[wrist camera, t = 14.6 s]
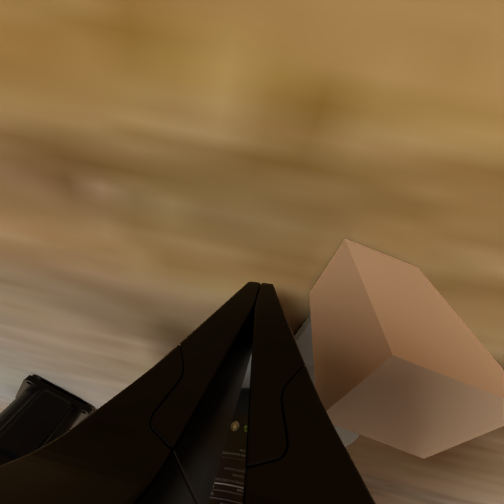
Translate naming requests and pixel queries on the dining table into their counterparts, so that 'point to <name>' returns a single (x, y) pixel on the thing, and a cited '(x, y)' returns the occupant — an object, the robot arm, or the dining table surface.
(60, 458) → the robot arm
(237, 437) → the supplement bottle
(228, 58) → the dining table surface
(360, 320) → the frying pan
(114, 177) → the dining table surface
